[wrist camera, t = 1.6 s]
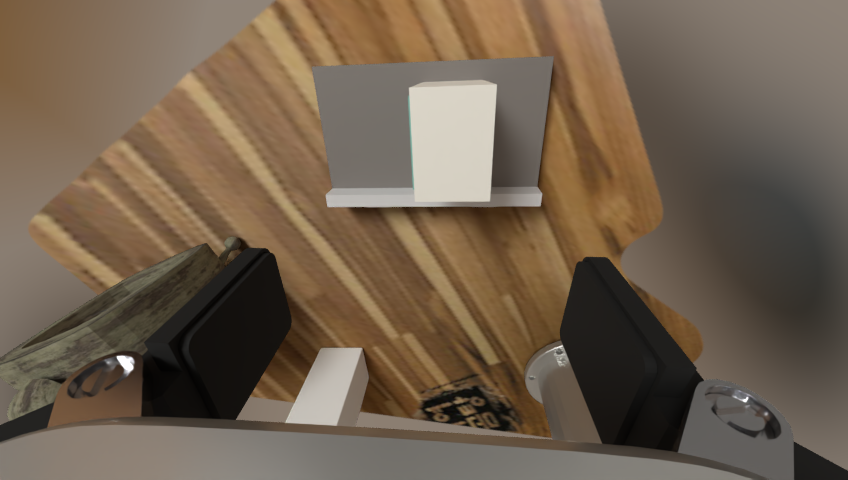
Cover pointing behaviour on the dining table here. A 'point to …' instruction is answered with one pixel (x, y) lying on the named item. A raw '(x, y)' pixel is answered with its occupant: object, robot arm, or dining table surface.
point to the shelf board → (390, 132)
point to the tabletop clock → (107, 325)
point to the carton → (452, 140)
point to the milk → (332, 389)
